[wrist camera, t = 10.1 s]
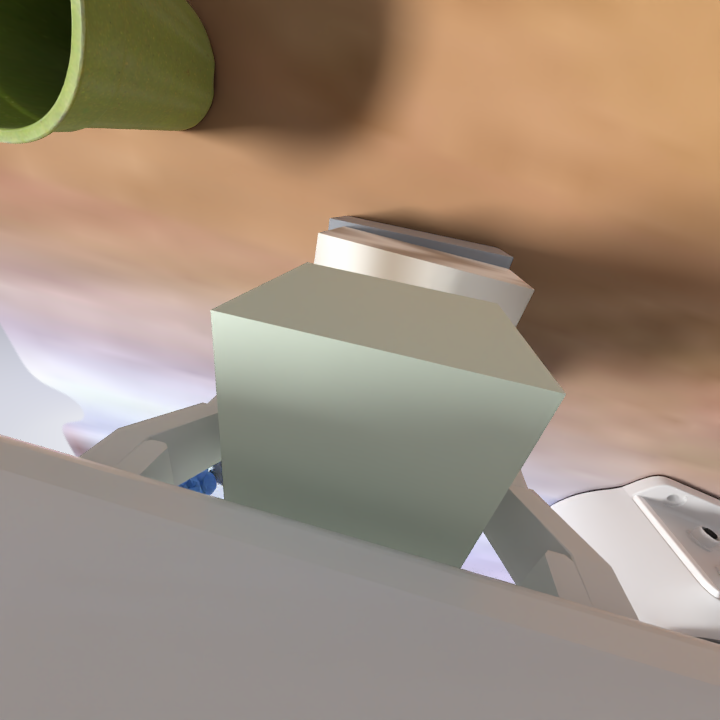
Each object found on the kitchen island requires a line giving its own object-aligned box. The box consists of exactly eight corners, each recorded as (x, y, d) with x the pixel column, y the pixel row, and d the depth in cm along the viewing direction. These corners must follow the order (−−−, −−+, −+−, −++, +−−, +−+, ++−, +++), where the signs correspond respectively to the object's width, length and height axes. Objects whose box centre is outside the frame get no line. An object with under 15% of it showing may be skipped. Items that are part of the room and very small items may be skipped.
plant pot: (107, -132, 17) (-345, -607, 7) (280, 32, 18) (114, -164, 9) (73, 94, 22) (-206, 7, 12) (209, 204, 24) (58, 204, 14)
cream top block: (508, 268, 18) (534, 289, 13) (447, 403, 22) (452, 450, 18) (344, 226, 18) (318, 233, 14) (320, 365, 23) (295, 402, 19)
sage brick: (497, 303, 9) (566, 394, 5) (419, 497, 13) (418, 638, 9) (307, 262, 10) (210, 310, 5) (290, 461, 14) (230, 579, 10)
